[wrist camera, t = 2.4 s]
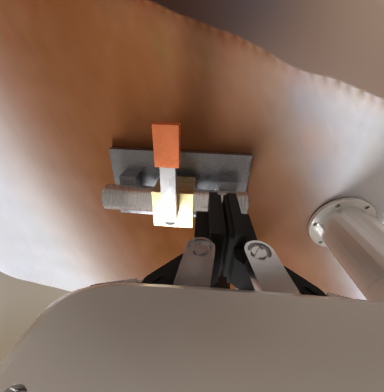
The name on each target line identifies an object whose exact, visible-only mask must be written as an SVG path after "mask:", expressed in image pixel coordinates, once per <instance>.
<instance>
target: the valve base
mask: <svg viewBox="0 0 384 392" xmlns="http://www.w3.org/2000/svg"><path fill="white" fill-rule="evenodd" d="M109 153H110V158H111V164H112V169H113V174H114V180H115V184H107V185H106V186H105V187H104V189H103V192H102V203H103V206H104V207H105V208H106V209H118V210H120V211H121V212H125V213H140V214H153V218H154V225H157V226H171V227H186V228H192V224H193V217H196V211H208V199H209V192H218V195H221V198H222V201H223V195H226V194H227V193H236V196H237V199H238V203H239V206H240V210H241V213H242V214H247V213H248V204H249V200H248V193H247V192H246V188H247V183H248V178H249V172H250V167H251V162H252V154H251V153H234V152H213V151H192V150H181V164H180V167H179V168H177V209H178V211H179V213H178V217H177V221H176V223H175V224H174V225H167V224H165V223H164V221H163V219H162V203H161V186H160V169H159V167H155V163H154V149H150V148H129V147H111V148H109Z"/></svg>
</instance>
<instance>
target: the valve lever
mask: <svg viewBox="0 0 384 392" xmlns="http://www.w3.org/2000/svg"><path fill="white" fill-rule="evenodd" d="M152 136H153V149H154V163H155V167H159V169H160V186H161V203H162V219H163V221H164V223H165V224H167V225H174V224H175V223H176V221H177V217H178V213H179V211H178V209H177V168H179V167H180V164H181V123H179V122H155V123H153V124H152Z"/></svg>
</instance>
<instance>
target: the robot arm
mask: <svg viewBox="0 0 384 392" xmlns="http://www.w3.org/2000/svg"><path fill="white" fill-rule="evenodd" d="M308 233H309V235H310V237H311V238H312V240H313V241H314V242H315V243H317V244H318V245H320V246H323V247H327V248H329V250H330V251H331V252H332V254H333V255H334V256H335V258H336V259H337V260H338V262H339V263H340V264H341V266H342V267H343V268H344V270H345V271H346V272H347V274H348V275H349V276H350V278H351V279H352V280H353V282H354V283H355V284H356V286H357V287H358V288H359V290H360V291H361V292H362V294H363V295H364V296H365V298H366V299H367V300H368V301H367V300H359V299H352V298H348V297H344V296H340V295H336V294H333V293H329V292H328V293H327V295H326V294H324V292H323V291H321V290H320V289H319V288H318V287H316V286H315V285H313V284H311V283H310V282H308V281H307V280H305V279H304V278H302V277H301V276H299V275H297V274H296V273H294V272H293V271H291V270H290V269H288V268H287V267H285V266H283V264H282V263H281V261H280V259H279V258H278V256H277V255H276V253H275V251H274V250H273V249H272V247H271V246H269V245H268V244H266V243H264V242H262V241H257V238H256V235H255V232H254V229H253V226H252V223H251V220H250V217H249V215H248V214H242V213H241V210H240V206H239V203H238V199H237V196H236V193H227V194H226V195H223V201H222V198H221V195H218V192H209V199H208V211H196V223H195V236H194V238H192V239H191V240H189V241H188V243H187V244H186V247H185V250H184V253H183V254H181V255H180V256H178V257H176V258H175V259H173V260H172V261H170V262H168V263H167V264H165V265H164V266H162V267H160V268H159V269H157V270H156V271H154V272H152V273H151V274H149V275H148V276H147V277H145V278H144V280H139V281H138V280H137V278H136V279H128V280H121V281H114V282H106V283H99V284H94V285H91V286H89V287H86V288H82V289H78V290H76V291H73V292H70V293H68V294H66V295H64V296H62V297H60V298H58V299H57V300H56V301H54V302H53V303H52V304H50V305H49V306H48V307H47V308H46V309H45V310H44V311H43V312H42V313H41V314H40V315H39V316H38V317H37V318H36V319H35V321H34V322H33V323H32V324H31V325H30V326H29V328H28V329H27V330H26V331H25V333H24V334H23V335H22V336H21V337H20V339H19V340H18V341H17V342H16V344H15V345H14V346H13V348H12V349H11V350H10V352H9V353H8V354H7V356H6V357H5V358H4V360H3V361H2V362H1V364H0V392H384V224H382V223H381V222H380V221H379V220H377V213H376V210H375V208H374V207H373V206H372V205H371V204H369V203H368V202H367V201H364V200H362V199H359V198H351V197H349V198H341V199H337V200H334V201H331V202H329V203H327V204H325V205H323V206H322V207H321V208H319V209H318V210H317V211H316V212H315V213H314V214H313V216H312V217H311V219H310V221H309V223H308ZM221 268H222V272H223V276H226V279H227V283H231V284H233V285H234V286H235V289H223V288H211V287H212V286H213V285H214V284H215V283H217V282H218V277H219V276H220V274H221Z"/></svg>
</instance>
